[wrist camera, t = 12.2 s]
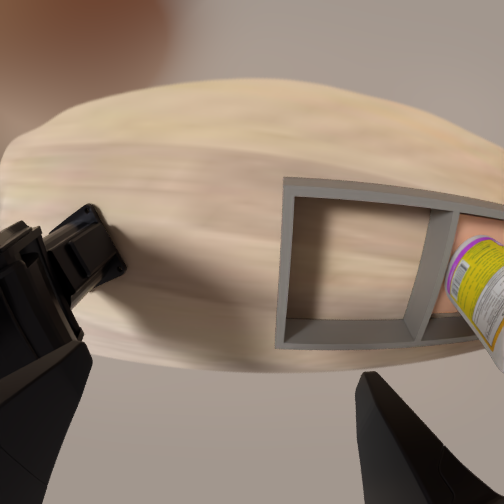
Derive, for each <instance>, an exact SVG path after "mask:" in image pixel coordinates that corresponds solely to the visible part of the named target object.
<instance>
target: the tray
mask: <svg viewBox="0 0 504 504" xmlns="http://www.w3.org/2000/svg"><path fill="white" fill-rule="evenodd" d="M294 196H298V197H315V198H331V199H345V200H357V201H369V202H379V203H389V204H399V205H408V206H417V207H425V208H431V214H430V219H429V224H428V229H427V234H426V239H425V244H424V248H423V252H422V256H421V260H420V264H419V268H418V272H417V276H416V279H415V283H414V286H413V290H412V293H411V297H410V300H409V303H408V306H407V309H406V312H405V315H404V318H403V319H399V320H314V319H286V312H287V301H288V289H289V276H290V263H291V248H292V233H293V216H294ZM460 212H461V213H460ZM462 213H468V214H474V215H468V214H462ZM475 215H481V216H487V217H492V218H487V217H481V216H475ZM493 218H498V219H493ZM499 219H504V205H502V204H498V203H493V202H488V201H484V200H479V199H474V198H468V197H463V196H458V195H452V194H446V193H440V192H434V191H427V190H421V189H414V188H406V187H399V186H391V185H382V184H373V183H363V182H353V181H342V180H329V179H315V178H298V177H283V203H282V227H281V248H280V267H279V284H278V300H277V315H276V333H275V349H293V350H370V349H392V348H408V347H421V346H432V345H441V344H450V343H459V342H466V341H473V340H479V338H478V337H477V336H476V334H475V333H474V331H473V330H472V329H471V327H470V326H469V325H468V323H467V322H466V321H465V319H464V318H463V317H462V316H460V317H445V318H430V317H431V314H432V313H451V312H459V311H458V310H457V309H456V308H455V306H454V305H453V304H452V302H451V301H450V300H449V298H448V297H447V294H446V291H445V285H444V279H445V272H446V269H447V266H448V263H449V261H450V259H451V257H452V255H453V254H454V252H455V251H456V250H457V249H458V247H459V246H460V245H461V244H462V243H463V242H464V241H466V240H467V239H469V238H471V237H473V236H476V235H487V236H490V237H492V238H493V239H495V240H496V241H498V242H499V243H501V244H502V245H504V220H499Z"/></svg>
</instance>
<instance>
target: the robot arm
mask: <svg viewBox="0 0 504 504" xmlns="http://www.w3.org/2000/svg"><path fill="white" fill-rule="evenodd" d="M87 208H88V209H89V212H88V210H87ZM41 234H42V231H41V228H40V226H37V227H33V228H32V227H29V226H27V225H26V224H25V223H24V222H23V221H19V222H17V223H15V224H13V225H11V226H9V227H7V228H6V229H4V230H2V231H1V232H0V504H42V502H43V499H44V496H45V492H46V489H47V485H48V483H49V479H50V476H51V473H52V471H53V468H54V464H55V462H56V459H57V456H58V454H59V451H60V448H61V445H62V443H63V440H64V438H65V435H66V433H67V430H68V428H69V426H70V423H71V421H72V418H73V416H74V413H75V411H76V409H77V407H78V404H79V402H80V399H81V397H82V394H83V391H84V388H85V385H86V382H87V379H88V376H89V373H90V370H91V367H92V363H93V360H92V357H91V355H90V352H89V350H88V348H87V345H86V344H85V343H84V342H82V339H83V336H84V332H83V330H82V328H81V327H79V325H78V323H77V321H76V319H75V317H74V315H73V313H72V311H71V310H72V309H73V308H74V307H75V306H76V305H77V304H78V303H79V302H80V301H81V300H82V298H83V297H84V296H85V295H86V294H87V293H88V292H89V291H90V290H91V289H93V288H95V287H97V286H99V285H101V284H103V283H105V282H108V281H110V280H112V279H114V278H116V277H118V276H121V275H123V274H124V273H125V272H126V270H127V267H126V265H125V263H124V261H123V260H122V258H121V256H120V254H119V253H118V251H117V249H116V248H115V246H114V244H113V242H112V241H111V239H110V237H109V235H108V233H107V232H106V230H105V228H104V226H103V224H102V222H101V220H100V219H99V217H98V215H97V213H96V211H95V209H94V207H93V205H91V204H89V203H88V204H86V205H84V206H83V207H81V208H80V209H79V210H77V211H76V212H75V213H73V214H72V215H71V216H69V217H68V218H67V219H66V220H64V221H63V222H62V223H61V224H59V225H58V226H57V227H56V228H54V229H53V230H52V231H51V232H50V233H49V235H47V236H46V237H44V238H42V235H41ZM119 267H121V268H122V270H121V269H120V268H119ZM355 401H356V427H357V443H358V450H359V457H360V465H361V473H362V481H363V490H364V500H365V504H504V496H501V495H500V494H498V493H496V492H494V491H493V490H492V489H491V488H490V487H489V486H487V485H486V484H485V483H484V482H483V481H481V480H480V479H479V478H478V477H477V476H475V475H474V474H473V473H472V472H471V471H470V470H469V469H468V468H466V467H465V466H464V465H463V464H462V463H461V462H460V461H459V460H458V459H457V458H456V457H455V456H454V455H453V454H452V453H451V452H450V451H449V449H448V448H447V447H446V446H443V443H442V442H441V441H440V440H439V439H438V438H437V436H436V435H435V434H434V433H433V432H432V431H431V430H430V429H429V428H428V427H427V426H426V424H424V422H423V421H422V420H421V419H420V418H419V417H418V416H417V415H416V414H415V413H414V411H413V410H412V409H411V408H410V407H409V406H408V405H407V404H406V403H405V402H404V401H403V400H402V399H401V398H400V397H399V395H398V394H397V393H396V392H395V391H394V390H393V389H392V388H391V387H390V386H389V385H388V383H387V382H386V381H385V380H384V379H383V378H382V377H381V376H380V375H379V374H378V373H377V372H375V371H370V372H363V374H362V375H361V378H360V380H359V383H358V385H357V388H356V392H355Z"/></svg>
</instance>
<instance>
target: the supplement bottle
mask: <svg viewBox="0 0 504 504" xmlns="http://www.w3.org/2000/svg"><path fill="white" fill-rule="evenodd" d="M444 285H445V291H446V294H447V297H448V298H449V300H450V301H451V302H452V304H453V305H454V306H455V308H456V309H457V310H458V311H459V313H460V314H461V315H462V317H463V318H464V319H465V321H466V322H467V323H468V325H469V326H470V327H471V329H472V330H473V331H474V333H475V334H476V336H477V337H478V338H479V340H480V341H481V343H482V344H483V346H484V347H485V349H486V350H487V352H488V353H489V355H490V356H491V358H492V359H493V361H494V362H495V364H496V366H497V367H498V368H499V370H500V371H501V372H503V373H504V245H502V244H501V243H499V242H498V241H496V240H495V239H493V238H492V237H490V236H487V235H476V236H473V237H471V238H469V239H467V240H466V241H464V242H463V243H462V244H461V245H460V246H459V247H458V249H457V250H456V251H455V252H454V254H453V255H452V257H451V259H450V261H449V263H448V266H447V269H446V272H445V279H444Z"/></svg>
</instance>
